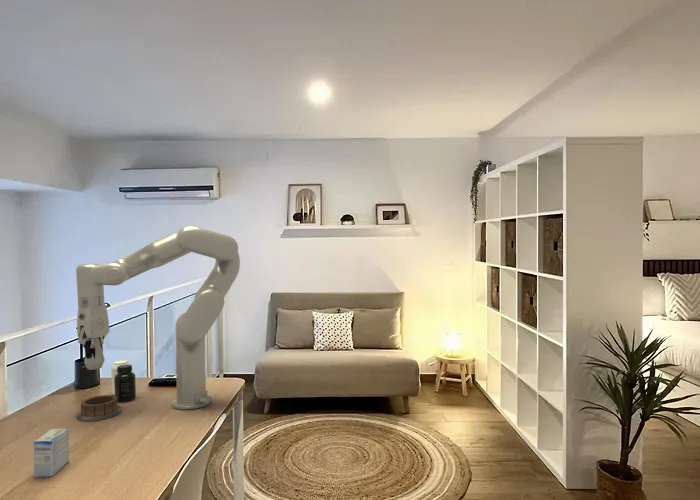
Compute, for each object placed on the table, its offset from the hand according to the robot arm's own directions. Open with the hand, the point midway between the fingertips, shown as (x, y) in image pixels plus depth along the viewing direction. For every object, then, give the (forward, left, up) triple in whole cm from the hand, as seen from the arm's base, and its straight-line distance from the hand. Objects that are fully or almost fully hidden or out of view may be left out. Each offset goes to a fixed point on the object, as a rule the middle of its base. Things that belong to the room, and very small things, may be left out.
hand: (94, 358), depth 156 cm
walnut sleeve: (0, -1, -18) cm, 18 cm away
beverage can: (+13, -17, -19) cm, 28 cm away
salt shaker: (0, 0, -3) cm, 3 cm away
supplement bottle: (+6, -14, -19) cm, 24 cm away
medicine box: (-27, +27, -19) cm, 43 cm away
